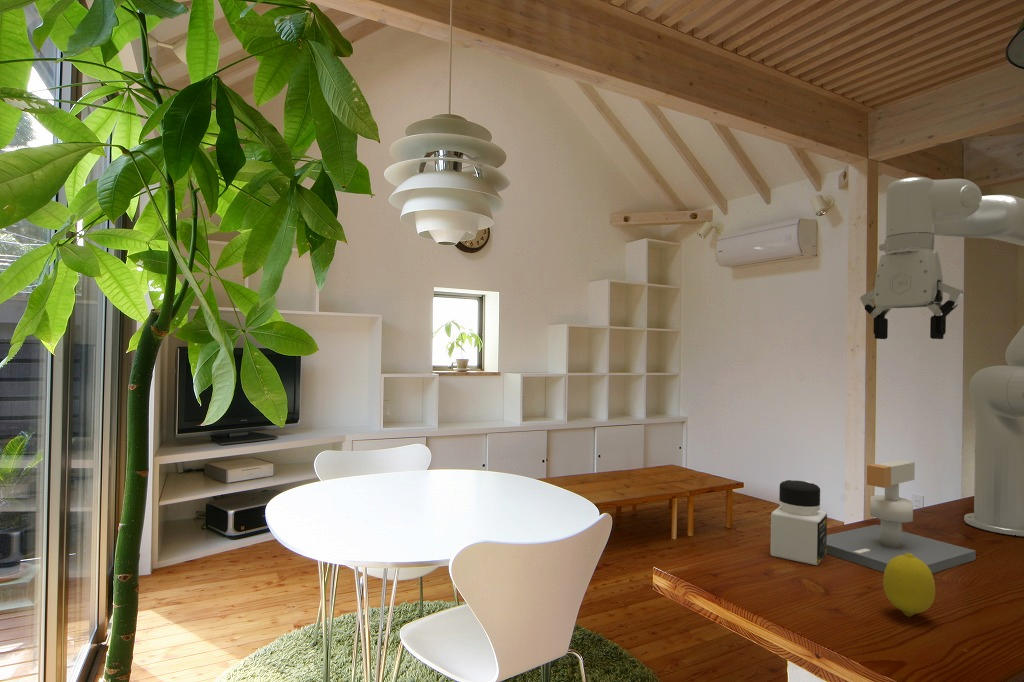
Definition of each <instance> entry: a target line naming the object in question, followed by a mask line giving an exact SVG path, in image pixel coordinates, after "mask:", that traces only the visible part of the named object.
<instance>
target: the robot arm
mask: <svg viewBox="0 0 1024 682" xmlns="http://www.w3.org/2000/svg"><path fill="white" fill-rule="evenodd" d="M982 193H983V192H981V189H980V187H979V186H978V185H977V184H976V183H974V182H973V181H971V180H969V179H965V178H948V179H932V178H929V177H926V176H925V177H924V176H913V177H906V178H900V179H898V180H895V181H892V182H891V183H890V184H889V185H888V186H887V189H886V201H885V202H886V203H885V204H886V206H885V207H886V211H885V213H886V214H885V215H886V217H885V239H884V242H883V243H880V244H879V245H878V249H879V251H880V252H884V253H885V254H882V255H881V256H880V257H879V262H878V264H877V269H876V274H875V282H874V288H873V289H871V290H869V291H868V292H865V293H864V294H862V295H861V296H860V301H861V303H862V305H863V306H864V310H865V311H866V312H867V313H868V314H869V315H870V317H871V318H872V319H873V329H872V330H873V335H874V339H876V340H887V339H888V333H889V331H888V330H889V327H888V326H889V324H888V323H889V319H888V318H886V316H887V315H888V314H889V313H890V311H891V310H892V309H908V308H909V309H911V308H928V309H929V311H931V313H932V314H933V315H931V317H930V325H929V326H930V329H929V330H930V332H929V333H930V335H929V337H930V339H933V340H943V339H944V335H946V331H947V327H946V326H947V317H949V315H950V313H951V312H953V311H954V310H955V309H956V308H957V307H958V305H959V304H958V303H960V301H961V299H962V297H963V296H964V293H965V291H964V290H962V289H959V288H957V287H955V286H952V285H951V284H947V283H944V282H943V281H944V280H943V271H942V270H943V269H942V264H941V260H940V256H939V252H938V251H937V250H935V236H940V237H955V238H956V237H957V238H958V237H959V238H969V239H970V238H972V239H992V240H997V241H1001V242H1006V243H1010V244H1014V245H1016V246H1023V247H1024V198H1022V197H1018V196H1016V195H1012V194H992V195H991V194H990V195H988V194H987V195H982ZM944 293H946V294H948V296H949V297H948V299H947V301H945V302H944V303H943V299H944ZM873 301H874V302H873ZM873 303H874V304H873ZM942 303H943V304H942ZM1004 357H1005V362H1006V363H1007V365H993V366H988V367H984V368H982V369H980V370H978V371H976V372H975V373H974V374H973V376H972V377H971V379H970V382H969V397H970V402H971V404H972V410H973V415H974V416H973V417H974V429H975V432H974V433H975V435H974V436H975V441H974V489H973V490H974V491H973V492H974V494H973V495H974V496H973V498H974V499H973V512H969V513H966V514H965V515H964V516H963V518H964V519H963V520H964V522H965V523H966V524H967V525H970V526H972V527H974V528H976V529H981V530H983V531H989V532H992V533H998V534H1002V535H1003V534H1004V535H1008V536H1015V535H1016V536H1017V537H1024V324H1023V325H1022V327H1021V328H1020V329H1019V331H1018V332H1017V333H1016V335H1014V337H1013V339H1012V340H1011V341H1010V343H1009V344H1008V346H1007V348H1006V350H1005V356H1004Z"/></svg>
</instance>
